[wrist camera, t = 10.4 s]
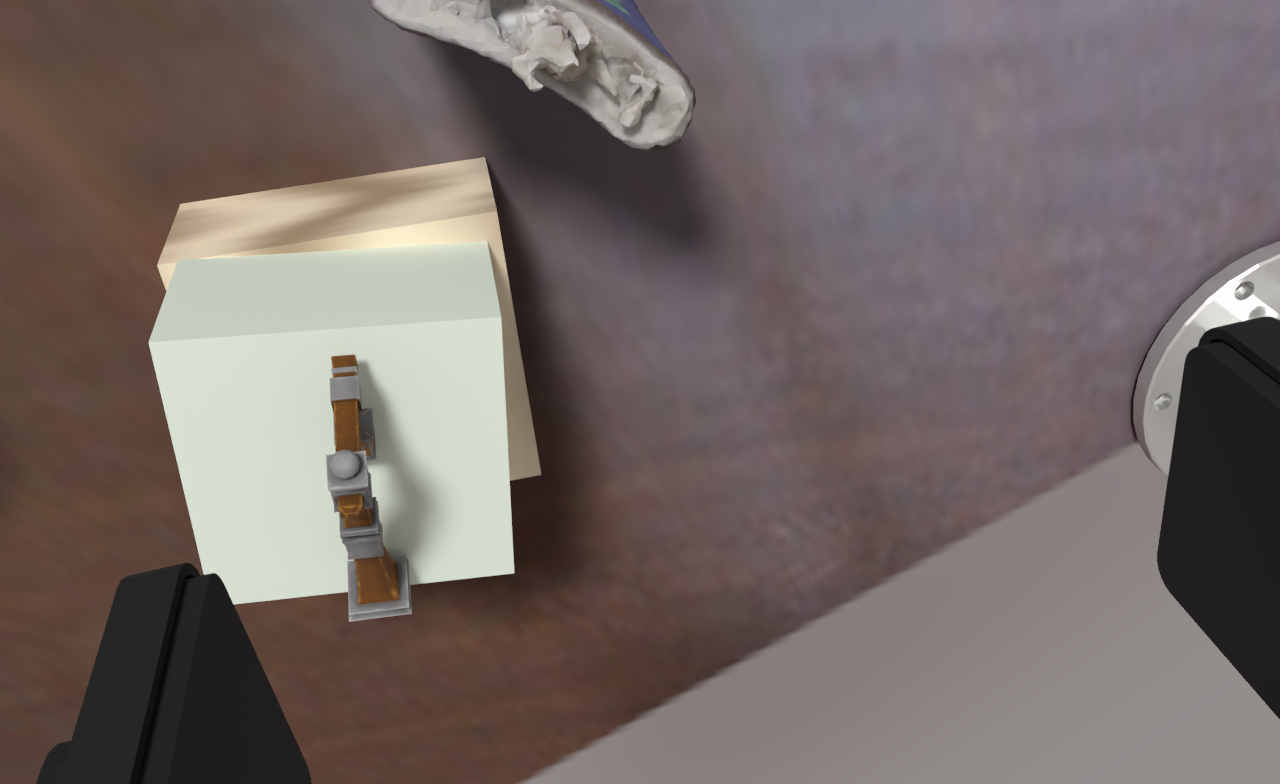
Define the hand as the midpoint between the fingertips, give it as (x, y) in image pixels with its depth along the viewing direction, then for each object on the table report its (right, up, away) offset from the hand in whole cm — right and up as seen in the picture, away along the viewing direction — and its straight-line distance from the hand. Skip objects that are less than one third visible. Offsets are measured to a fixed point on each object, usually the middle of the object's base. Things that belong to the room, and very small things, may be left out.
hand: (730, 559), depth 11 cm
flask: (-5, +15, +24) cm, 29 cm away
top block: (-10, +2, +25) cm, 27 cm away
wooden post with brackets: (-9, -1, +22) cm, 23 cm away
